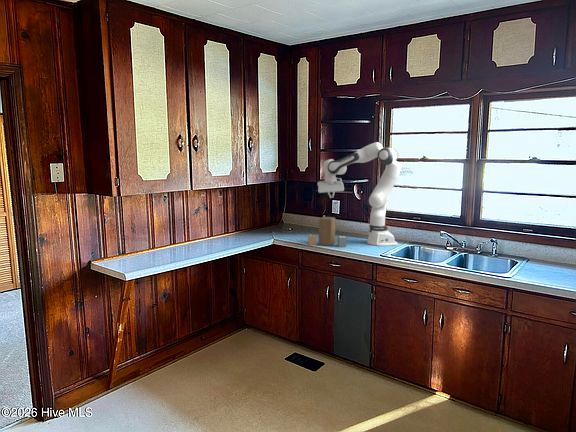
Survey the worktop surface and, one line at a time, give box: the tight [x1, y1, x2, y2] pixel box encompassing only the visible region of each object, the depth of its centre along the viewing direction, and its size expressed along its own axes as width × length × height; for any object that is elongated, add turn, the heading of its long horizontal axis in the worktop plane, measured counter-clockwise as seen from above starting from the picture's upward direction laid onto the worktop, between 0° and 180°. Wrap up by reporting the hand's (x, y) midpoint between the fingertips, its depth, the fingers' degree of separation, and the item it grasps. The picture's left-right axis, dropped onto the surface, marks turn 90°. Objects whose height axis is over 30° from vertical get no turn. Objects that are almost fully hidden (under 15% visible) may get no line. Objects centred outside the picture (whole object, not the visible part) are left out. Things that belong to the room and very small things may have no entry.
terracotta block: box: [308, 233, 317, 246], centre depth 312 cm, size 5×5×8 cm
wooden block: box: [318, 216, 337, 247], centre depth 313 cm, size 10×10×20 cm
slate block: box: [337, 235, 347, 248], centre depth 308 cm, size 5×5×8 cm
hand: (331, 197), depth 331 cm, fingers closed
